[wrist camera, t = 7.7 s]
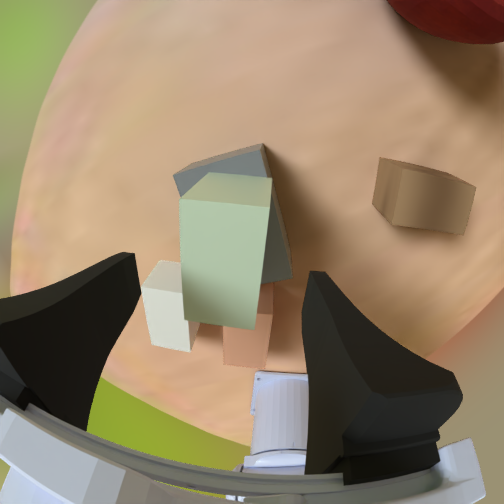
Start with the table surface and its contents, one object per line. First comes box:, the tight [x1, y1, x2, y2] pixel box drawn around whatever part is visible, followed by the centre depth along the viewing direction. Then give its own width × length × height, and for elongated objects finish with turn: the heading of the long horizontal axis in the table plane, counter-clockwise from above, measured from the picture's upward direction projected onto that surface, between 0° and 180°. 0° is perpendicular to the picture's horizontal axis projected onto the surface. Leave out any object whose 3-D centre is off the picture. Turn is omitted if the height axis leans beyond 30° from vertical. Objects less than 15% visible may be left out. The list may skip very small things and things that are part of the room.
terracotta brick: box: [223, 283, 274, 369], centre depth 22 cm, size 6×3×4 cm, turn 177°
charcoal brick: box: [173, 143, 293, 284], centre depth 18 cm, size 8×5×4 cm, turn 16°
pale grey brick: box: [141, 260, 200, 352], centre depth 22 cm, size 6×3×4 cm, turn 175°
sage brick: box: [179, 172, 272, 330], centre depth 14 cm, size 6×3×5 cm, turn 175°
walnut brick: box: [372, 157, 476, 235], centre depth 16 cm, size 6×3×4 cm, turn 87°
